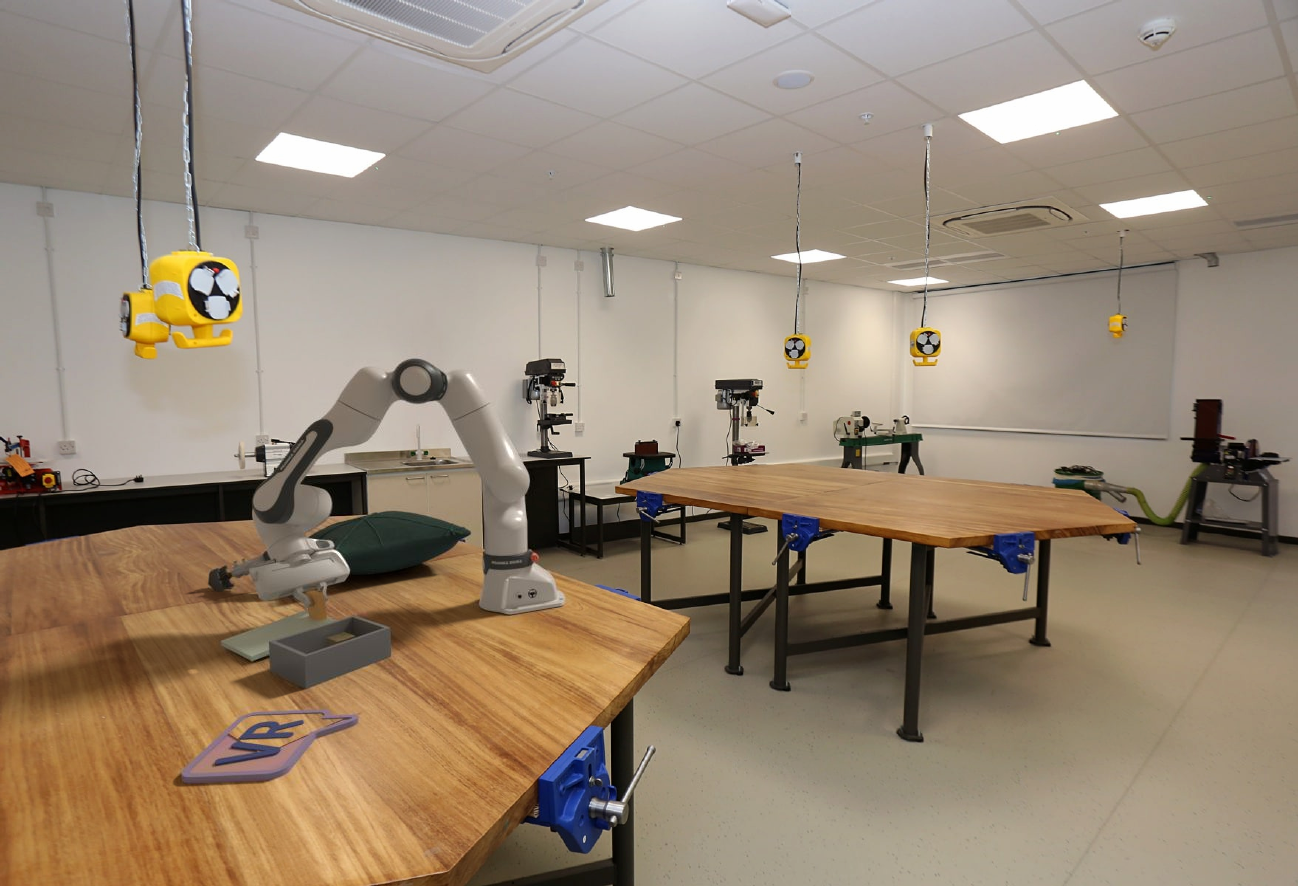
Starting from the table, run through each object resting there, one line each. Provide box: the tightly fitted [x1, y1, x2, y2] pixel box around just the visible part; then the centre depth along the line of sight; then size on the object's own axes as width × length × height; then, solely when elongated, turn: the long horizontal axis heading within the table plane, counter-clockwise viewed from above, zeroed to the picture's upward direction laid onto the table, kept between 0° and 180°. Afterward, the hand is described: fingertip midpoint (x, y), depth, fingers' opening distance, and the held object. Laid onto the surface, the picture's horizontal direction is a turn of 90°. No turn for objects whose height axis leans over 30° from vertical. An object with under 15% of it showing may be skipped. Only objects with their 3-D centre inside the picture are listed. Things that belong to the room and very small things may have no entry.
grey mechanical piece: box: [207, 550, 307, 598], centre depth 180 cm, size 6×28×16 cm, turn 77°
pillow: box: [307, 510, 472, 576], centre depth 204 cm, size 44×18×44 cm
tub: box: [268, 615, 392, 690], centre depth 132 cm, size 18×13×7 cm
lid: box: [220, 589, 338, 662], centre depth 143 cm, size 19×14×8 cm
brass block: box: [326, 632, 356, 647], centre depth 136 cm, size 4×4×4 cm
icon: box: [180, 709, 360, 784], centre depth 103 cm, size 19×2×20 cm
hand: (317, 603), depth 149 cm, fingers closed on lid, 2 cm apart
